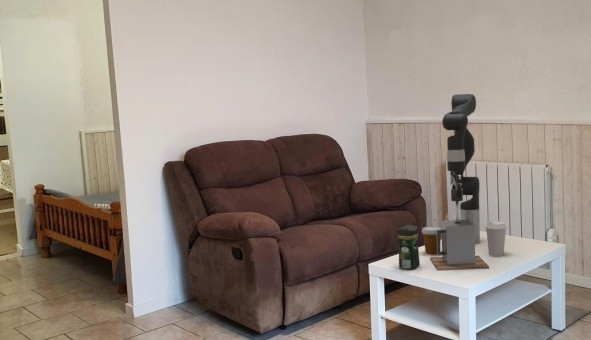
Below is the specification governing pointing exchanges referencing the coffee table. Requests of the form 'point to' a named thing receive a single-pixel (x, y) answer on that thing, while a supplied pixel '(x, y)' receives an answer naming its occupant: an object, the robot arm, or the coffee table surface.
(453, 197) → the plunger
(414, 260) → the coffee jar
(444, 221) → the silver block with slot
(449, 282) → the coffee table surface
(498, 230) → the coffee cup
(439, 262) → the walnut board
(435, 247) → the disposable coffee cup
